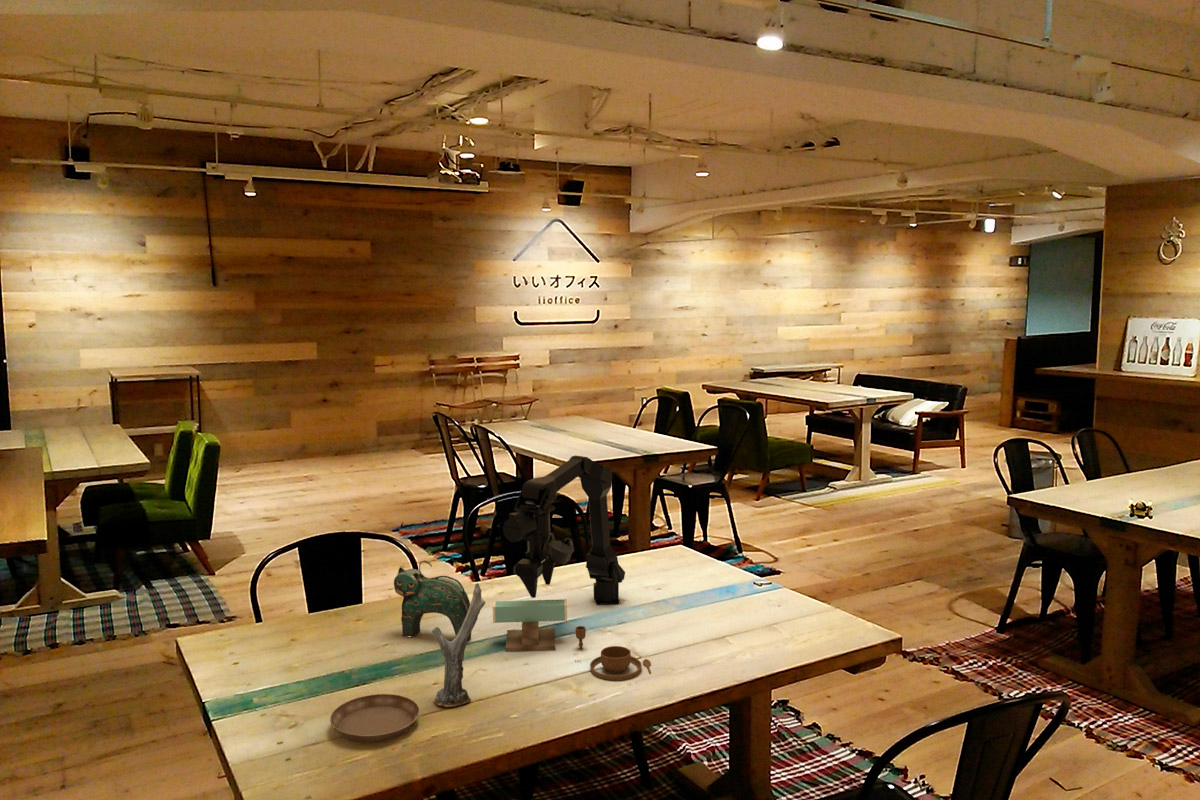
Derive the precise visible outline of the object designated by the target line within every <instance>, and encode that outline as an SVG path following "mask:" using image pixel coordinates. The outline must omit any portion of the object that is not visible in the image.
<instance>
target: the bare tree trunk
mask: <svg viewBox="0 0 1200 800" xmlns="http://www.w3.org/2000/svg"><path fill="white" fill-rule="evenodd" d="M485 604H486V601H485V600H484V599H483V598H482V589H481V586H480V584H479V583H478V582H477V583H475V585H474V588H473V591H472V598H471V601H470V607H469V610H468V613H467V615H466V617H465V620H464V622H463V624H462V627H461V629H460V631H459V633H458V634H457V636H455V637H454V638H453V639H452V640H448V639H447V638H446V637H445V635H444V634H443V632H442V630H441V629H440V627H438V626H437V627H434V628H433V629H432V630H431V634H432V637H433V638H434V640H435V641H436V643H438V645H439V649H440V651H441V654H442V656H443V658H444V677H443V678H444V679H443V688H441V689H439V690H438V691H437V692H436V695H435V698H434V699H433V700H432V701H433V702H434V703H435V704H436V706H437V705H438V706H444V707H446V708H447V707H451V708H452V707H456V706H462V705H464V704H467V703H471V701H472V699H471V698H470V696H469V693H468V691H467V690H466V689H464V688H463V681H462V680H463V678H464V674H463V673H464V666H463V661H464V657H465V651H466V650H465V649H466V646H467V643H468V642H467V639H468V637H469V635H470V633H471V634H472V630H473V629H474V627H475V625H476V624H477V621H478V619H479V618H478V616H479V615H480V613H481V610H482V609H483V607H484V606H485Z"/></svg>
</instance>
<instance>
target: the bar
mask: <svg viewBox="0 0 1200 800" xmlns="http://www.w3.org/2000/svg"><path fill="white" fill-rule="evenodd" d="M567 601H568V599H567V598H563V599H562V598H561V599H535V600H534V599H531V600H526V599H525V600H497V601H496V600H493V603H492V624H496V623H497V624H498V623H499V624H500V623H501V624H502V623H522V622H539V623H541V622H568V603H567Z"/></svg>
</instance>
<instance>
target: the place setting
mask: <svg viewBox="0 0 1200 800" xmlns="http://www.w3.org/2000/svg"><path fill="white" fill-rule="evenodd" d="M586 632H587V631H586V626H582V625H578V626H576V627H575V637H576V639H577V640H578V647H579V648H578V650H581V651H582V650H584V647H583V646H584V643H583V640H585V638H586V635H587V633H586ZM631 654H632V653H631V650H630V649H629V648H627V647H625V646H618V645H612V646H607V647H604V648H602V649H601V651H600V656H597V657H596V658H594V659H592V660H591V662H590V664H589V668H590V672H591V673H592V674H593V675H594V676H596V677H597V678H599V679H603V680H607V681H625V680H626V681H627V680H629V679H631V678H634V677H636V676H638V675H639V674H640V672H641V670H642V665H643V666H644V667H646V669H647V671H648V674H649V675H652V671H651V668H650V667H651V664H652V662H651V661H650V660H649V659H647V658H645V659H643V661H642V662H641V661H640V660H639V659H638V658H636V657H634V656H632V655H631ZM581 661H582V660H580V659H576V660H575V661H574V662H575V663H581ZM599 664H600V665H602V667H603V668H604V669H606V670H607V671H608V672H609V673H612V674H613V675H611V674H604V673H602V672H598V671H596V670H595V668H596V667H597V666H598V665H599ZM631 664H632V665H633V666H635V667H636V670H635V671H633V672H631V673H628V674H621V675H619V673H622V672H624V671H625V670H626V669H627V668H629V667H630V665H631ZM614 674H618V675H614Z"/></svg>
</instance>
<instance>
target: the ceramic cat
mask: <svg viewBox="0 0 1200 800" xmlns="http://www.w3.org/2000/svg"><path fill="white" fill-rule="evenodd" d="M422 563H426V564H428V565H429V566H430V567H431V568H432V566H433V565H432V563H430V561H428V560H422V561H420V563H419V565H418V569H415V568H409V569H407V570H405V569H404V568H403V567H399V568H398V572H397V575H396V576H395V578H393V588H394V591H395V593H396V594H397V595H399V596H401V597H403V599H402V603H401V618H400V621H401V626H402V627H401V628H402V630H401V631H402V637H405V636H411V637H410V638H413V637H412V636H415V637H416V636H418V634H420V632H421V622H422V621H421V620H422V618H423V616H424V615H425V614H433V613H436V614H441V615H443V616H446V617H447V618H448V619H449V621H450V623H451V626H452V627H453V632H454V635H455V637H456V636H457V634H458V633H459V631H460V629H461V627H462V624H463V622H464V620H465V617H466V615H467V613H468V610H469V607H470V604H471V601H470V599H469V597H468V594H467V592H466V590H465V587H464V586H463V584H462V583H461V582H460V581H459V580H458V579H456V578H454V577H451V576H448V575H439V576H434V577H426V576H425V574H423V572H421V564H422ZM471 639H472V632H471V633H470V635H469V637H468V639H467V643H469V641H470V640H471Z"/></svg>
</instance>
